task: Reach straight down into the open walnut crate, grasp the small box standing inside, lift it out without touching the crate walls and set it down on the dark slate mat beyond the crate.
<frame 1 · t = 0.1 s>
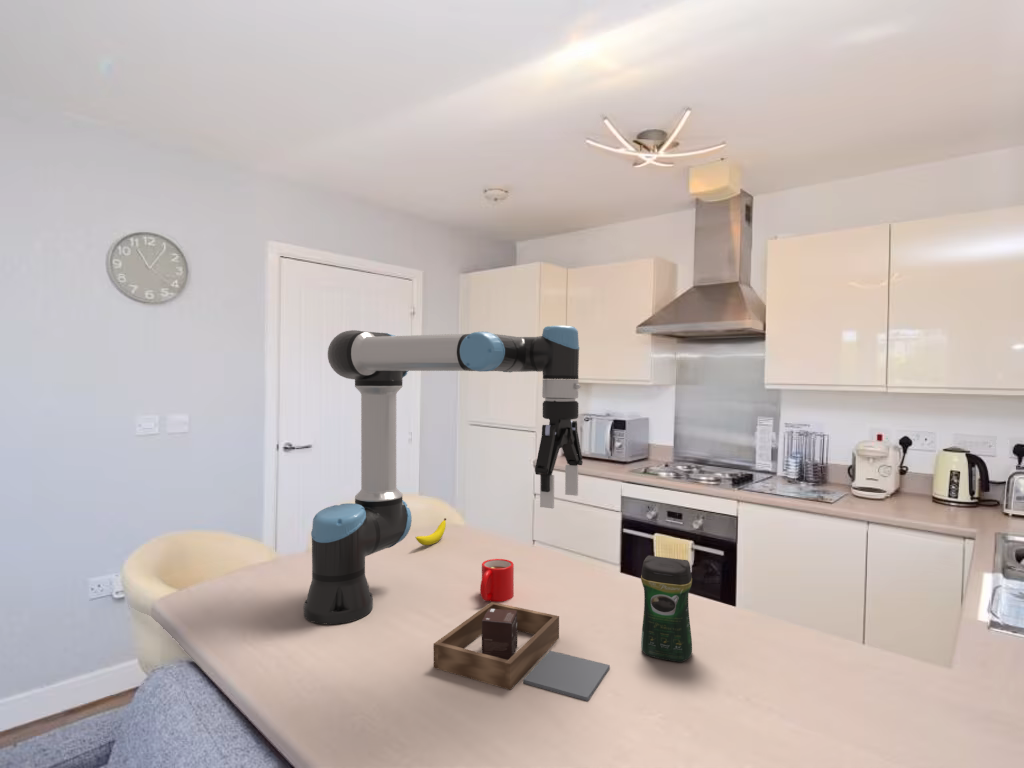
hand: (560, 501, 119), 28 cm above the table, fingers open, 13 cm apart
banana: (431, 545, 182), on the table
coffee jar: (666, 653, 111), on the table
walnut crate: (499, 651, 111), on the table
box: (499, 653, 111), resting in walnut crate
mug: (494, 599, 138), on the table
slate mat: (567, 675, 102), on the table
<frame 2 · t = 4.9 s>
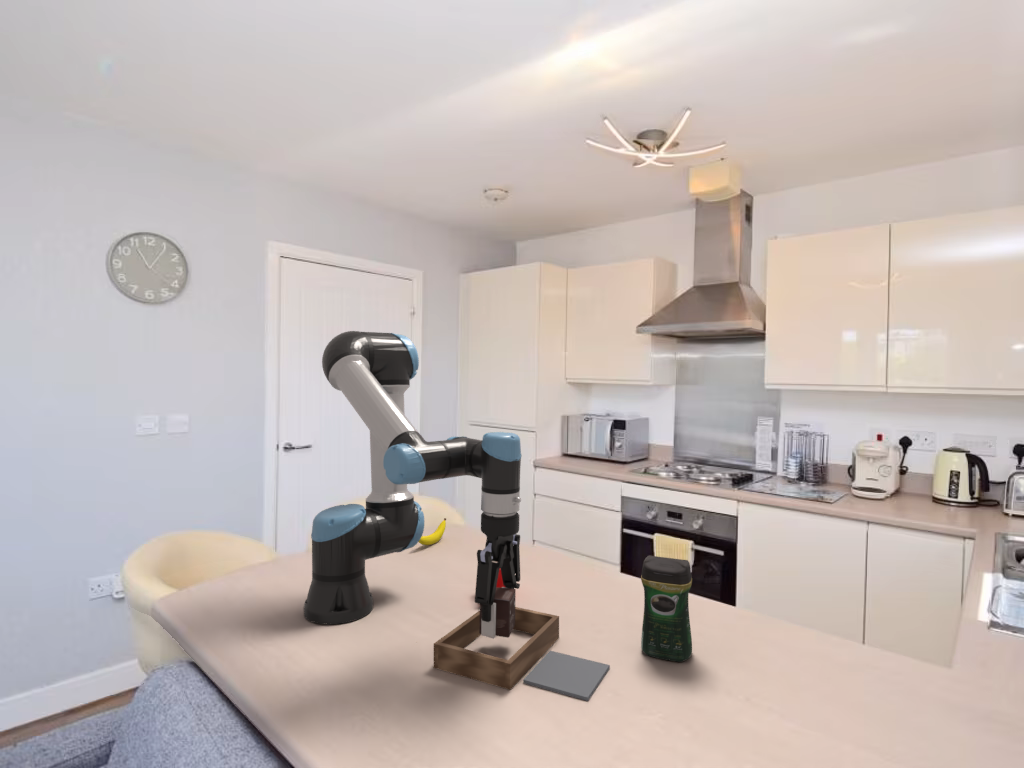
hand: (498, 627, 111), 5 cm above the table, fingers closed on box, 7 cm apart
box: (497, 630, 111), point 4 cm above the table, touching gripper
everything else where it was.
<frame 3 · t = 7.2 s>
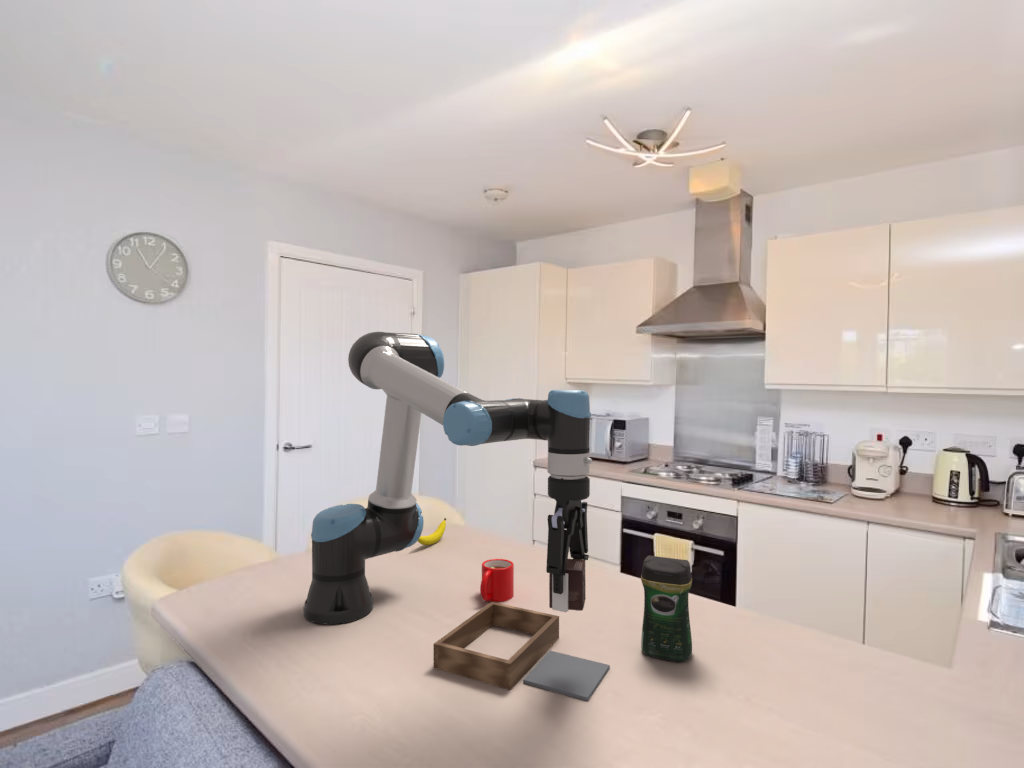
hand: (568, 602, 102), 13 cm above the table, fingers closed on box, 7 cm apart
box: (567, 605, 102), point 13 cm above the table, touching gripper
everything else where it was.
when the fingers open (1 cm above the table, at t = 9.7 s): box stays where it is, resting on slate mat.
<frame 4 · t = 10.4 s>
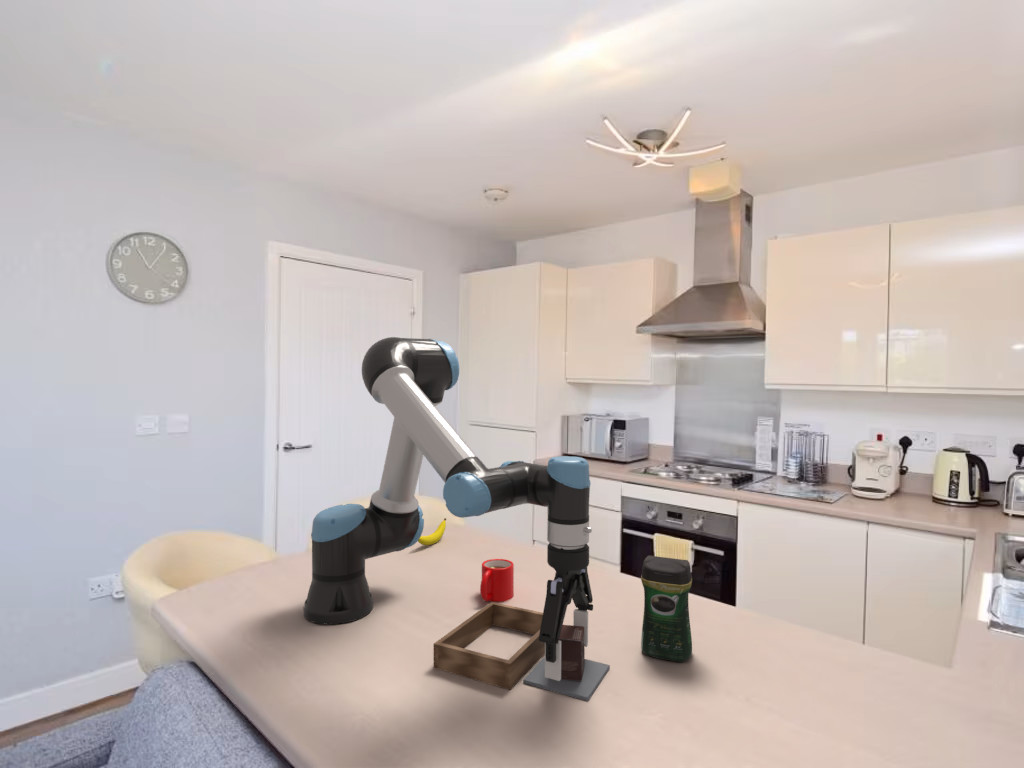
hand: (567, 660, 102), 3 cm above the table, fingers open, 13 cm apart
box: (566, 673, 103), resting on slate mat
everything else where it was.
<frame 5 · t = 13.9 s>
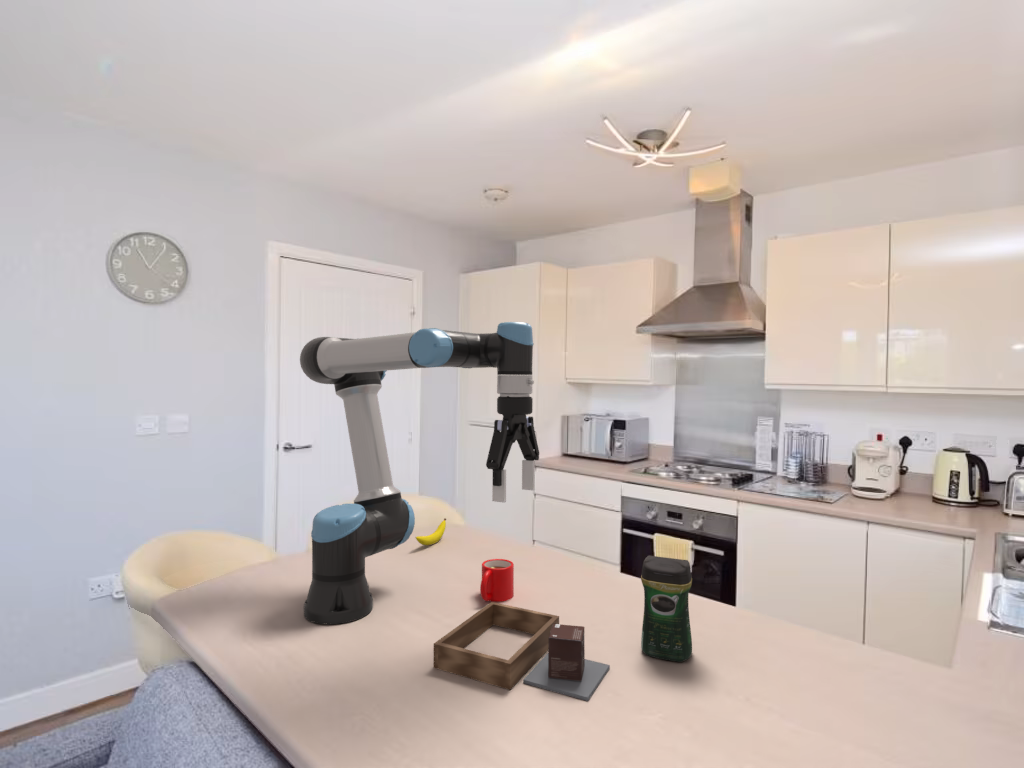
hand: (514, 495, 120), 29 cm above the table, fingers open, 13 cm apart
nothing on the table moved.
at the end: box inside the target area on the slate mat (0.2 cm from its centre), point 0.4 cm above the slate mat's base; box tilted 0°; the gripper is holding nothing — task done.
